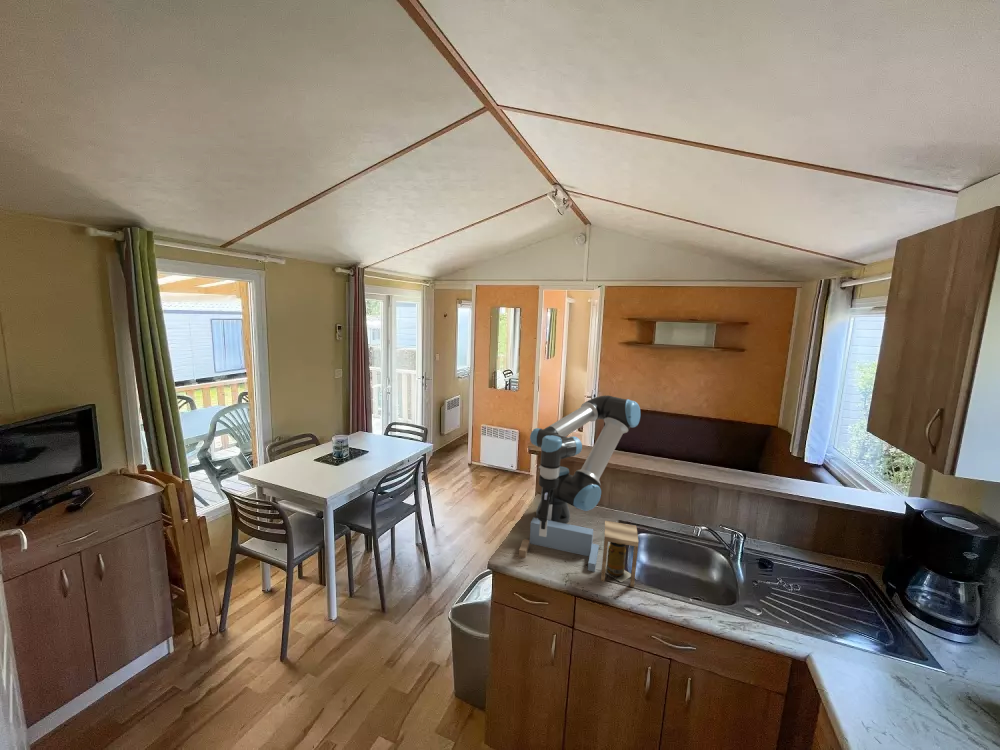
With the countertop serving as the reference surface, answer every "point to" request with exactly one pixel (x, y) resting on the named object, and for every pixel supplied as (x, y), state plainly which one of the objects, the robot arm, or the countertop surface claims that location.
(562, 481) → the robot arm
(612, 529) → the shelf
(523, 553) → the wooden block
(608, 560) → the condiment
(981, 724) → the countertop surface
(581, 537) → the crook
